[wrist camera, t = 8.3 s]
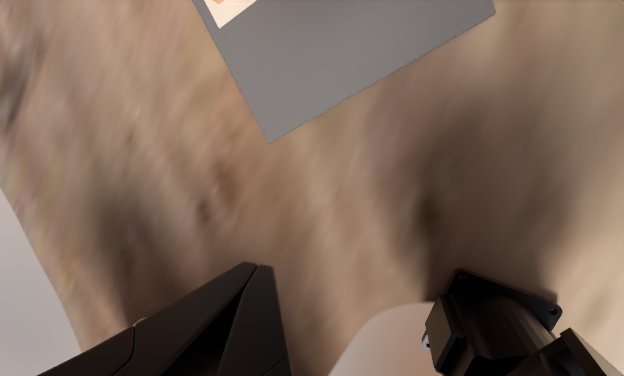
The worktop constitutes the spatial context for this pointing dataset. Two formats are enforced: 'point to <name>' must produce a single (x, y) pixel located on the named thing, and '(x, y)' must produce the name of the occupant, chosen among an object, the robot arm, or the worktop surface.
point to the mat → (325, 48)
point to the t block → (218, 1)
